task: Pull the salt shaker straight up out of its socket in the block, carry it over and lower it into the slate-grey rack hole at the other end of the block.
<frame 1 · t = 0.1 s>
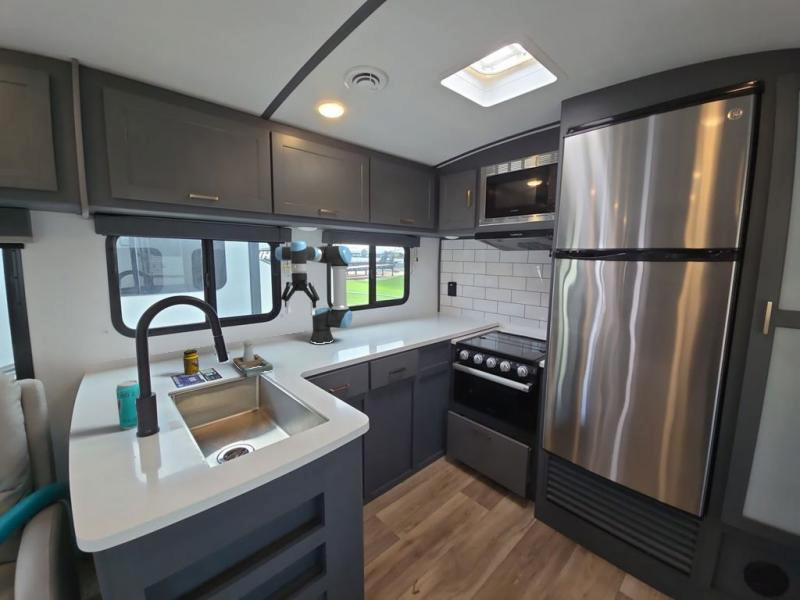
hand: (300, 314, 162), 28 cm above the counter, fingers open, 13 cm apart
condiment: (189, 375, 153), on the counter
salt shaker: (248, 364, 169), resting in tool block
tool block: (252, 367, 164), on the counter
beverage can: (131, 426, 106), on the counter
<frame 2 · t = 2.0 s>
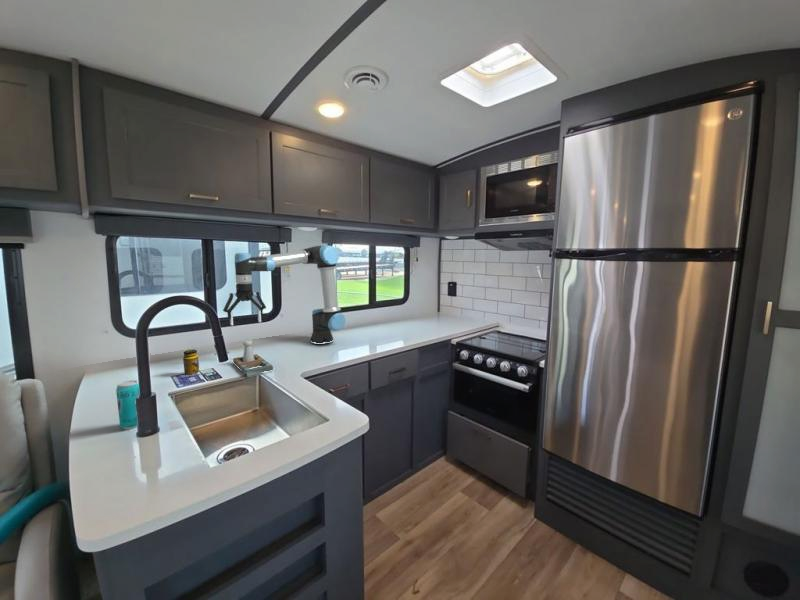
hand: (246, 323, 166), 22 cm above the counter, fingers open, 13 cm apart
nothing on the counter moved.
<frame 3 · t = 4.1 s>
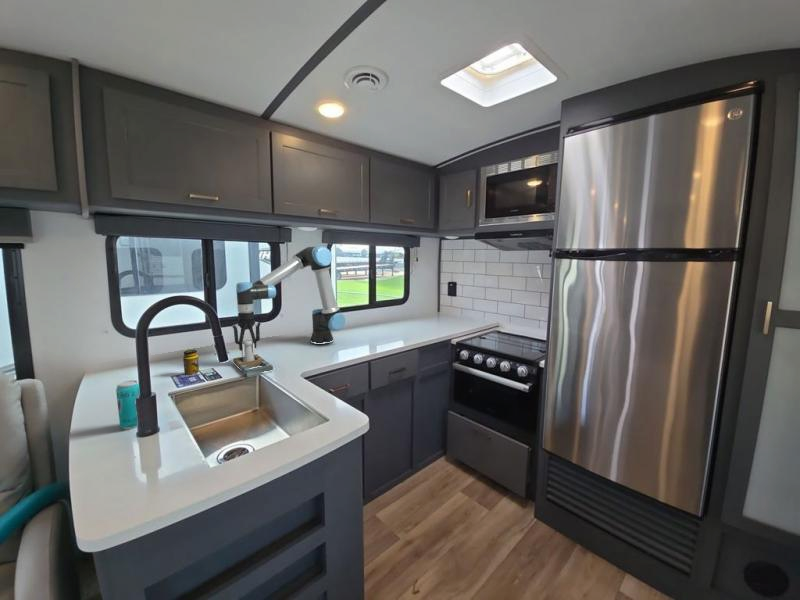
hand: (248, 355, 168), 5 cm above the counter, fingers closed on salt shaker, 4 cm apart
salt shaker: (248, 364, 169), resting in tool block, touching gripper
everything else where it was.
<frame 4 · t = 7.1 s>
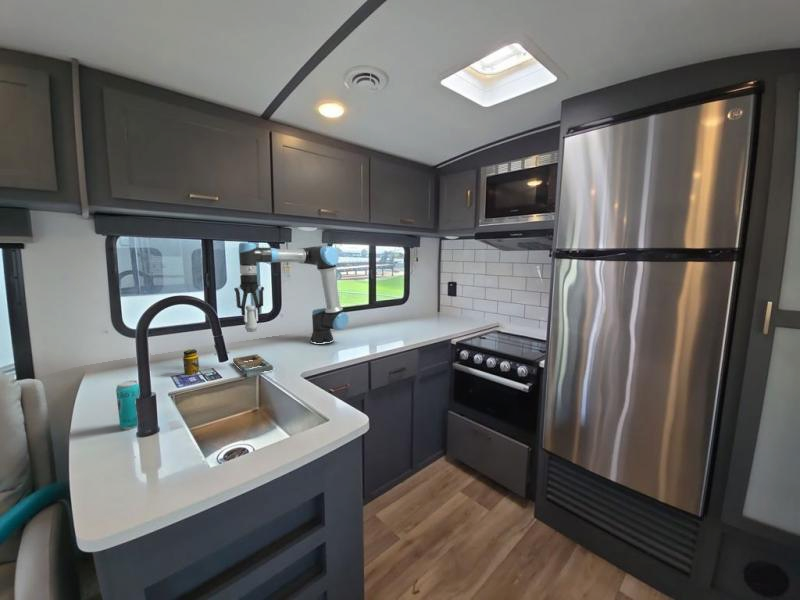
hand: (251, 321, 158), 25 cm above the counter, fingers closed on salt shaker, 4 cm apart
salt shaker: (251, 331, 159), point 20 cm above the counter, touching gripper
everything else where it was.
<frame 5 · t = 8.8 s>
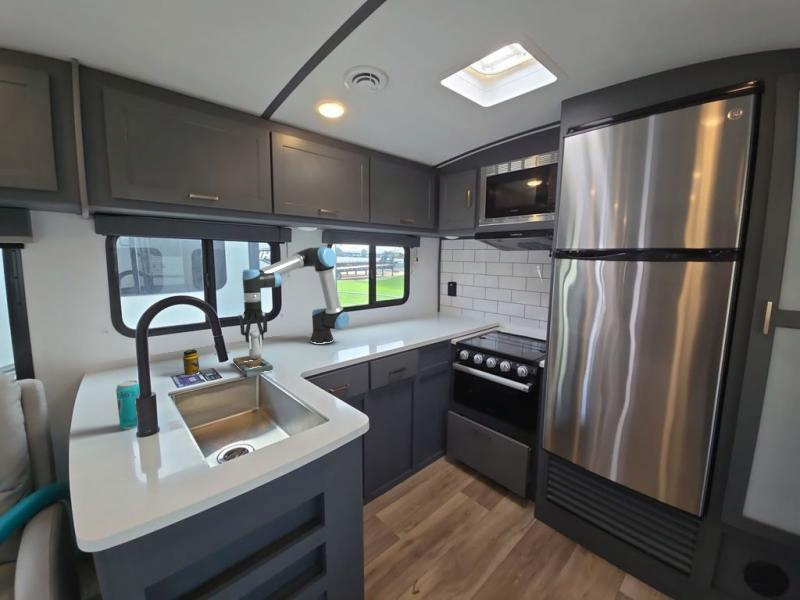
hand: (255, 347, 158), 12 cm above the counter, fingers closed on salt shaker, 4 cm apart
salt shaker: (255, 357, 158), point 7 cm above the counter, touching gripper
everything else where it was.
when the fingers open (7 cm above the counter, at t = 10.2 s): salt shaker drops 1 cm, resting in tool block.
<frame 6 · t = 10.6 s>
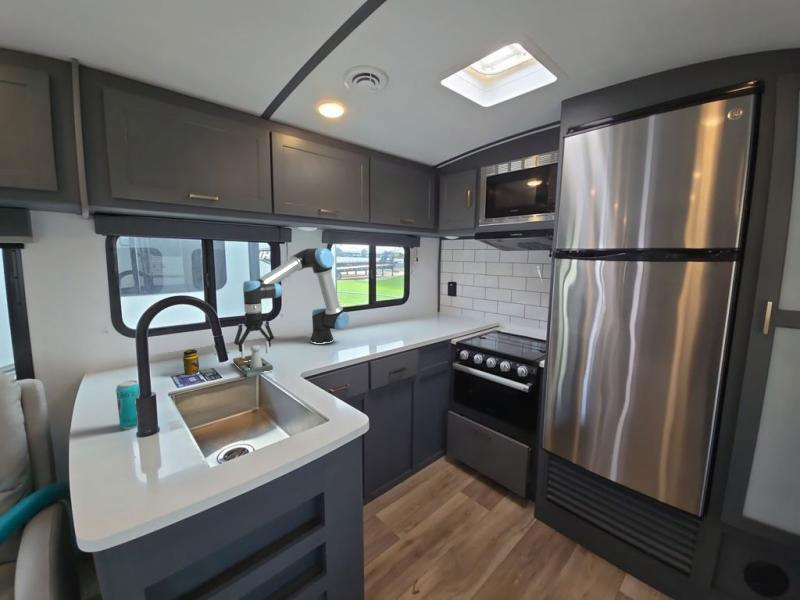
hand: (255, 355, 158), 8 cm above the counter, fingers open, 11 cm apart
salt shaker: (256, 371, 159), resting in tool block
everything else where it was.
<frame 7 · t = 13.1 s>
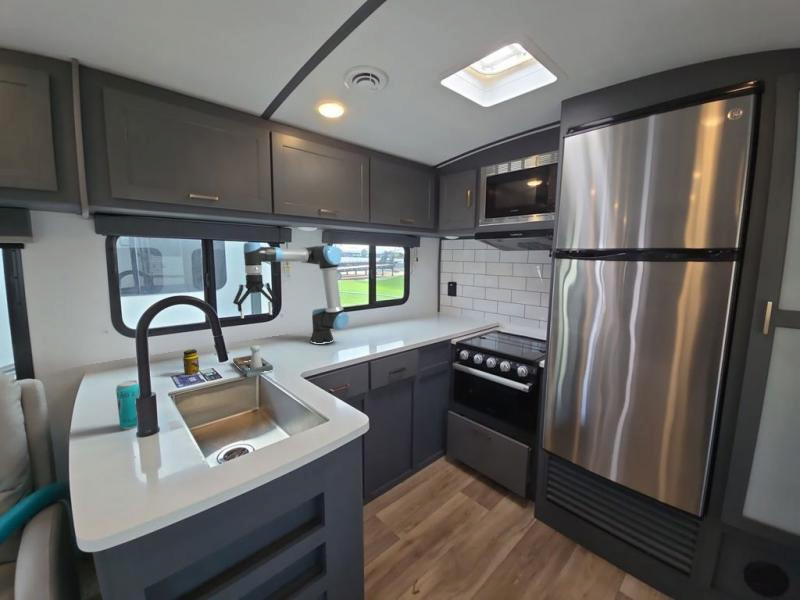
hand: (256, 316, 160), 27 cm above the counter, fingers open, 13 cm apart
nothing on the counter moved.
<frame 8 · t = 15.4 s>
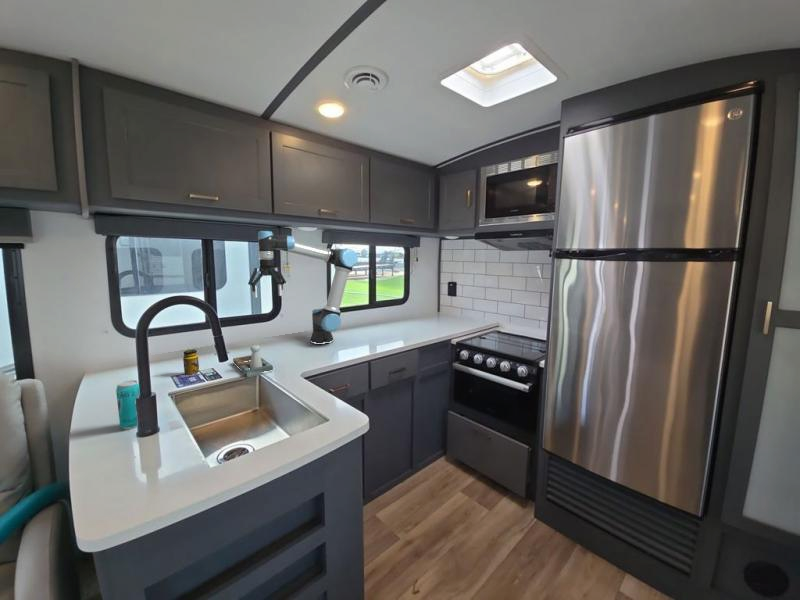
hand: (268, 296, 181), 35 cm above the counter, fingers open, 13 cm apart
nothing on the counter moved.
at the end: salt shaker 0.0 cm from the target spot on the tool block, point 0.0 cm above the tool block's base; salt shaker tilted 0°; the gripper is holding nothing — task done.
